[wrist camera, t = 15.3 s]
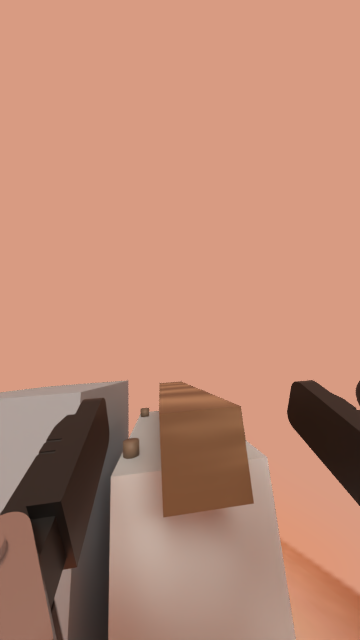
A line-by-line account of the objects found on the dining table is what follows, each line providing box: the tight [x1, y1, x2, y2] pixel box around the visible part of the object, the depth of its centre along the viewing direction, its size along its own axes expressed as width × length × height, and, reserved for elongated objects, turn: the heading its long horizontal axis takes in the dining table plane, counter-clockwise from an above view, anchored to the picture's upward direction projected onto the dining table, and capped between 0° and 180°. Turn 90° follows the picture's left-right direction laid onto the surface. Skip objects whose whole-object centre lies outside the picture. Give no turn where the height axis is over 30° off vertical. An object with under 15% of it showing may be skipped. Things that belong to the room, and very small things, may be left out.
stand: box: [0, 381, 296, 640], centre depth 18 cm, size 20×24×34 cm
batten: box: [159, 382, 254, 518], centre depth 22 cm, size 28×4×4 cm, turn 6°
